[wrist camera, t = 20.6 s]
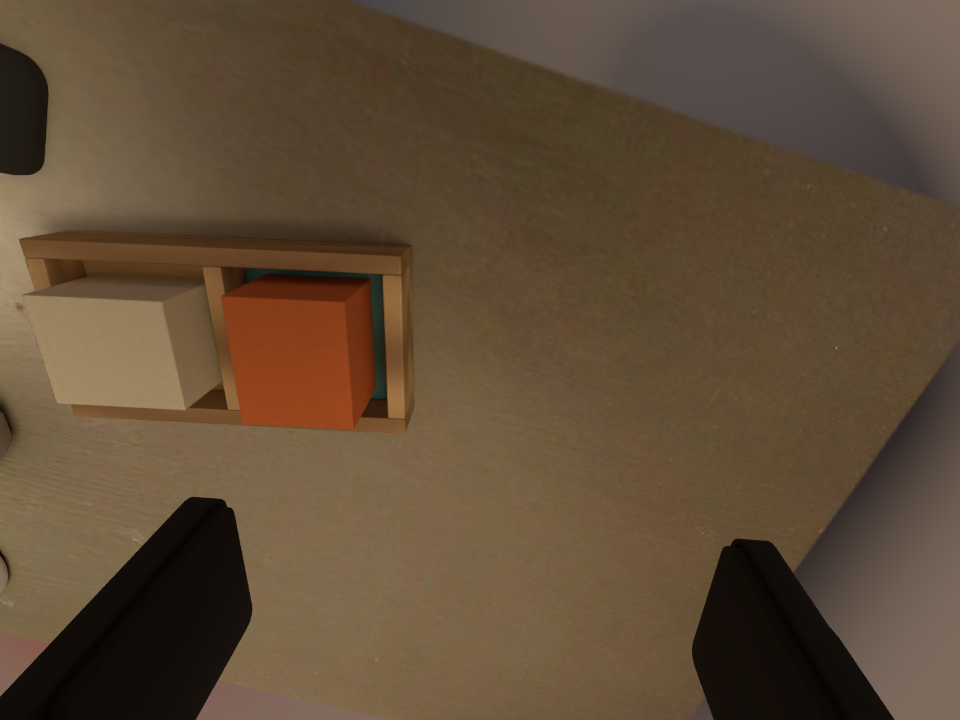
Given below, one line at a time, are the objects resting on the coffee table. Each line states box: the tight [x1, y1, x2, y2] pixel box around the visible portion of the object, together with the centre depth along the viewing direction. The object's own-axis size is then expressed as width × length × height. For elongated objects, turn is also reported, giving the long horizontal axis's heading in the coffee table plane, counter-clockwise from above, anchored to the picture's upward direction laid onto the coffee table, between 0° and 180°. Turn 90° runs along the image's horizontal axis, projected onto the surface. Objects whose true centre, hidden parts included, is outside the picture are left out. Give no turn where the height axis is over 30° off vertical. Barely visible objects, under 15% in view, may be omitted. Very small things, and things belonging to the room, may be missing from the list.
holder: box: [19, 230, 414, 434], centre depth 29 cm, size 10×20×3 cm, turn 88°
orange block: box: [221, 274, 376, 430], centre depth 27 cm, size 7×6×5 cm
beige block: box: [22, 273, 223, 410], centre depth 27 cm, size 6×7×5 cm
